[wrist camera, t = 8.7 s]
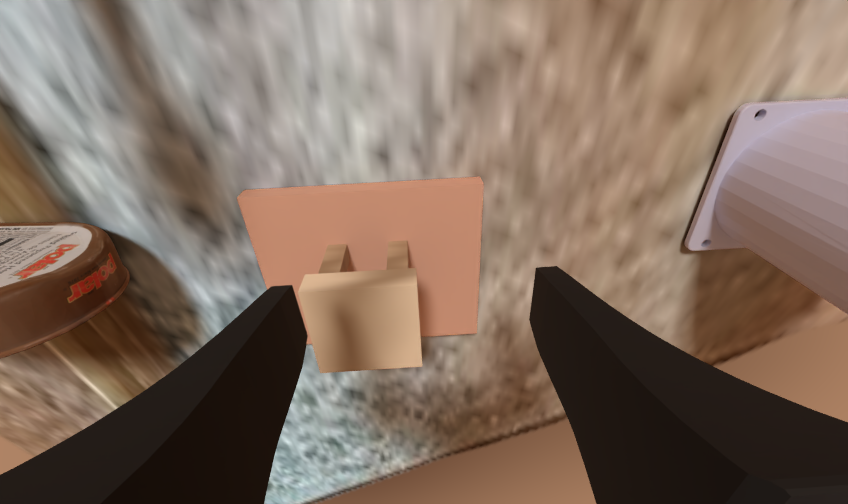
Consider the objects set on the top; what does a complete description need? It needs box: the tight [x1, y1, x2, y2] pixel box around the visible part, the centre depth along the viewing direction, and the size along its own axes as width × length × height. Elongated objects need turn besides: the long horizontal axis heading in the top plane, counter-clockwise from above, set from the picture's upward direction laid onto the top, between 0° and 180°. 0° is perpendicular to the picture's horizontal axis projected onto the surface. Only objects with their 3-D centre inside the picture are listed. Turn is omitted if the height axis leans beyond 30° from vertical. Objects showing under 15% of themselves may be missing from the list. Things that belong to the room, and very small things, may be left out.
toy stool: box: [298, 240, 422, 373], centre depth 19 cm, size 5×5×4 cm
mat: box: [237, 177, 484, 344], centre depth 21 cm, size 12×10×1 cm
